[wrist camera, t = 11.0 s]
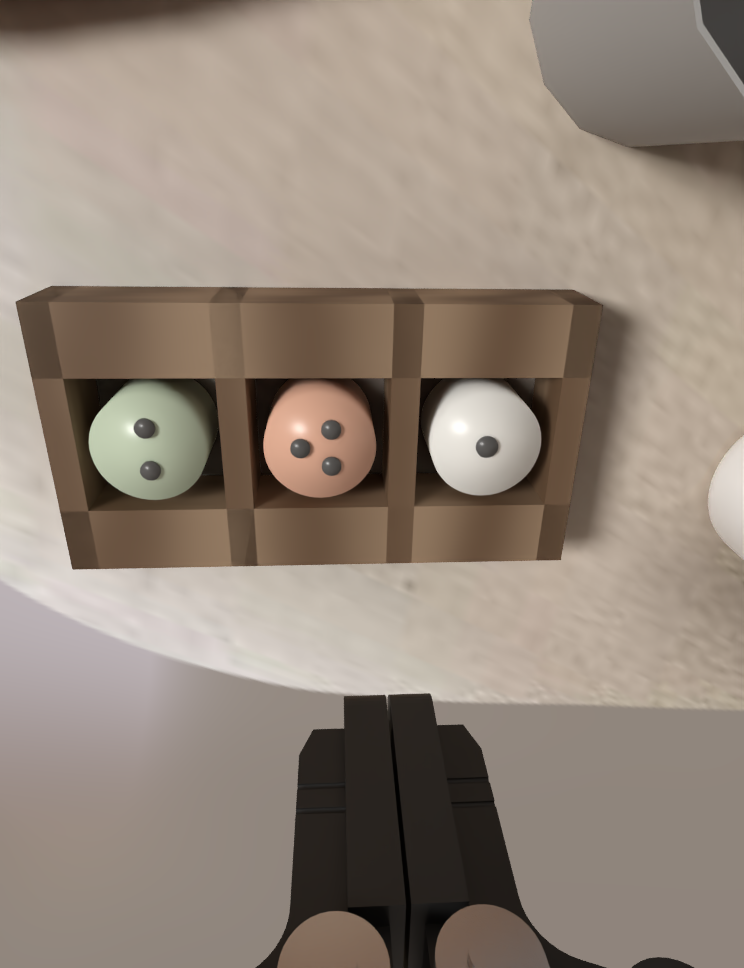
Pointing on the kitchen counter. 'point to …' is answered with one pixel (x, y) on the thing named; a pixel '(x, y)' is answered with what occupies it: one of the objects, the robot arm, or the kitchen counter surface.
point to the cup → (645, 67)
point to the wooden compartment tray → (309, 354)
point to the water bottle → (729, 498)
